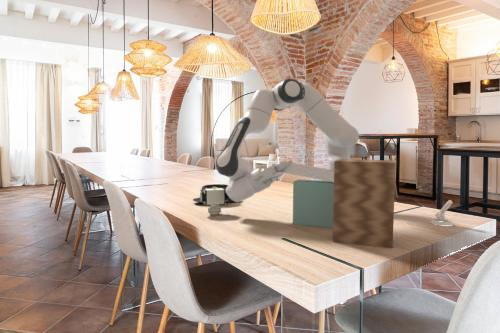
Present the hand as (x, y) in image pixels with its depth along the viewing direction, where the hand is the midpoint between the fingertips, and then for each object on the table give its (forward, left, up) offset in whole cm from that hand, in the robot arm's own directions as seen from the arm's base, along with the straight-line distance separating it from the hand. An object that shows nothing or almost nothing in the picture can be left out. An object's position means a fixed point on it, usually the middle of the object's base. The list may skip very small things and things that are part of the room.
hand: (290, 162), depth 145 cm
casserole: (+13, -51, -24) cm, 58 cm away
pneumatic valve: (+23, -25, -24) cm, 42 cm away
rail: (-7, +7, -6) cm, 11 cm away
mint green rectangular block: (-8, +8, -23) cm, 26 cm away
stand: (-9, +33, -23) cm, 41 cm away
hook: (-52, +27, -24) cm, 63 cm away
